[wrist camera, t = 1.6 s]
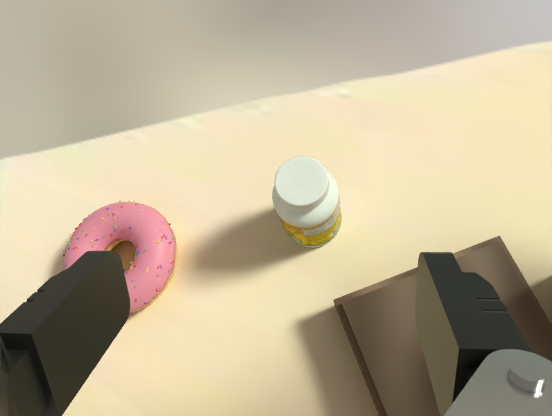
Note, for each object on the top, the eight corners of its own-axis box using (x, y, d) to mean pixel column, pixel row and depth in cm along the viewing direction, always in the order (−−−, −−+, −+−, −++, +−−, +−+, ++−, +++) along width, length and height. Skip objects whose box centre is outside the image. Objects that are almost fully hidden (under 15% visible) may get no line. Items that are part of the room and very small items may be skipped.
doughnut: (127, 190, 46) (106, 174, 42) (206, 246, 42) (191, 234, 38) (58, 276, 44) (29, 268, 40) (135, 343, 40) (111, 340, 36)
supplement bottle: (349, 237, 40) (348, 200, 31) (294, 256, 40) (277, 226, 31) (329, 186, 42) (323, 138, 33) (277, 204, 42) (256, 162, 33)
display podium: (487, 246, 38) (501, 234, 34) (582, 416, 33) (611, 423, 29) (335, 305, 38) (333, 299, 35) (405, 481, 33) (412, 496, 29)
